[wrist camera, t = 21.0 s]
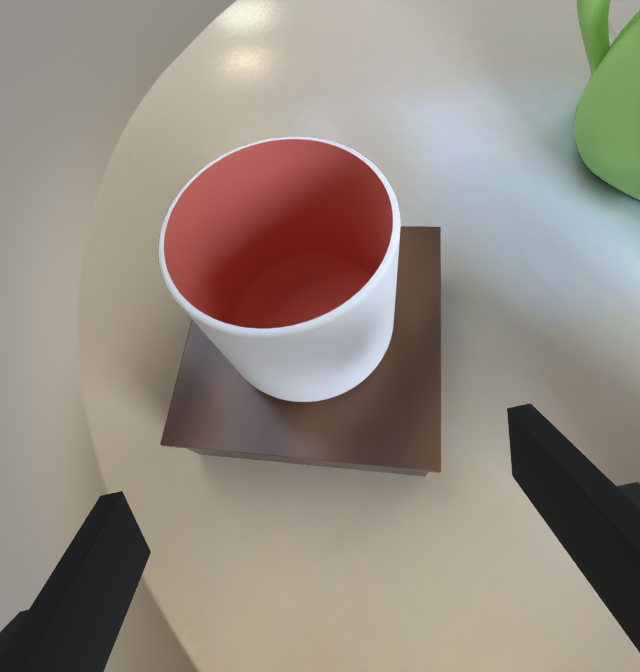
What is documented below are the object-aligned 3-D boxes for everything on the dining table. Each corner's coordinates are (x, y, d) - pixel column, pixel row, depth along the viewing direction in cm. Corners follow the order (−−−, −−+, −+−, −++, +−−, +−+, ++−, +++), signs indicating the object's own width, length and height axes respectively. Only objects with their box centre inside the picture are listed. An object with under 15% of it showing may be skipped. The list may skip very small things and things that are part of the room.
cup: (224, 410, 25) (137, 342, 16) (237, 265, 29) (174, 145, 20) (398, 405, 24) (411, 329, 15) (387, 254, 28) (392, 123, 19)
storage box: (193, 458, 29) (159, 444, 25) (236, 263, 35) (215, 224, 31) (430, 481, 27) (440, 471, 22) (431, 268, 33) (440, 226, 28)
